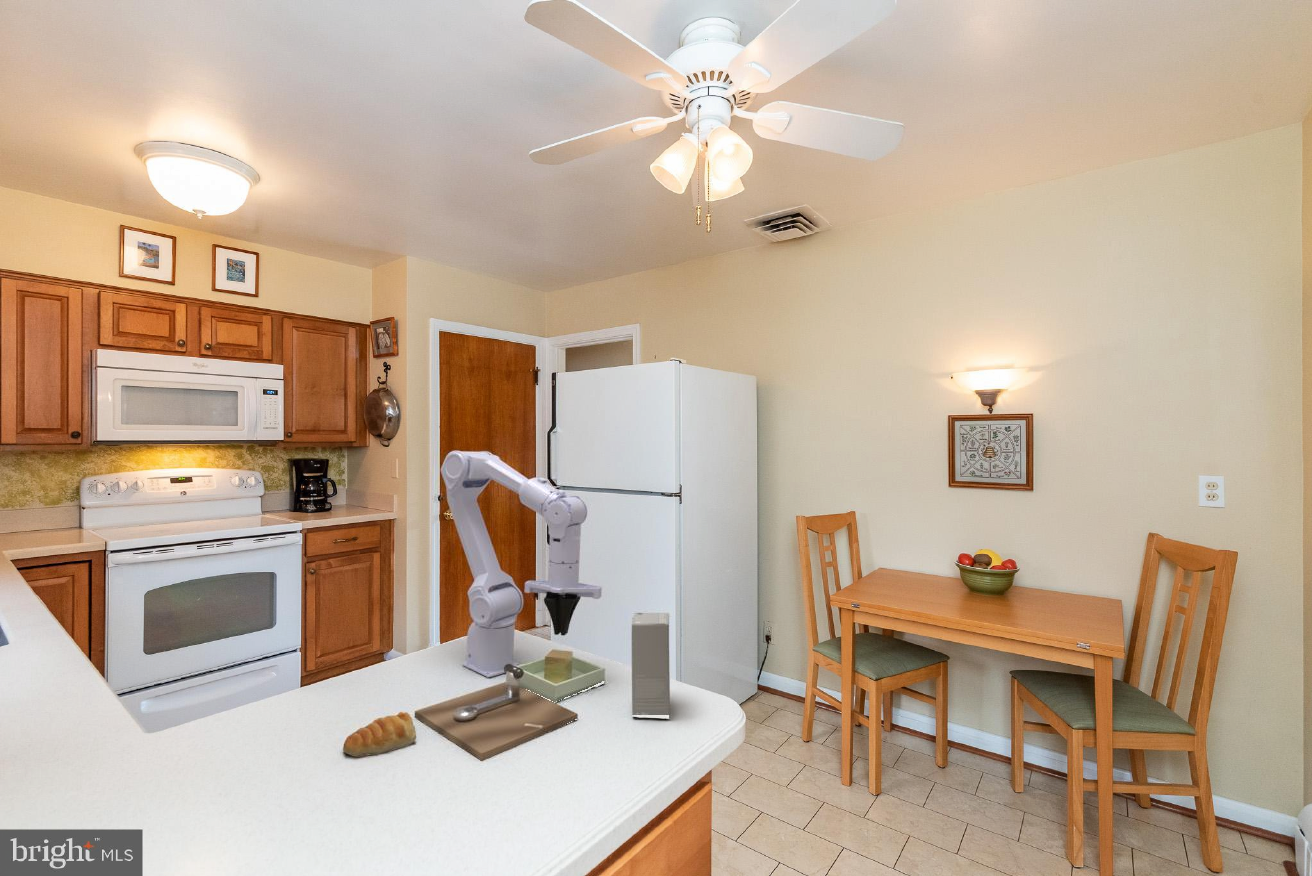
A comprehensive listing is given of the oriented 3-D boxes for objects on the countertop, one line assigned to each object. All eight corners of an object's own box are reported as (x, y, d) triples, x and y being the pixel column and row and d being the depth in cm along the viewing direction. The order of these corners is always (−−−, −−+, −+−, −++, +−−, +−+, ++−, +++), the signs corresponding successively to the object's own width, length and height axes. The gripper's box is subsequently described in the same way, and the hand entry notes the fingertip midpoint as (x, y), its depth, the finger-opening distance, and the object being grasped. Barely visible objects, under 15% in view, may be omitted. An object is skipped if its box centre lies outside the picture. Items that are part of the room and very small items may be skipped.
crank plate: (414, 717, 97) (414, 710, 97) (508, 686, 110) (508, 680, 110) (481, 760, 84) (481, 752, 84) (577, 720, 98) (577, 713, 98)
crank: (463, 724, 92) (464, 687, 92) (447, 714, 95) (448, 679, 95) (526, 701, 101) (527, 668, 101) (510, 693, 104) (511, 661, 104)
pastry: (352, 767, 82) (353, 738, 82) (335, 748, 87) (336, 722, 87) (419, 744, 89) (420, 718, 89) (400, 728, 93) (401, 703, 93)
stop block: (543, 683, 110) (545, 656, 110) (551, 675, 114) (552, 649, 114) (564, 686, 109) (565, 658, 109) (571, 678, 113) (572, 651, 113)
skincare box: (669, 721, 99) (673, 625, 99) (626, 719, 99) (630, 623, 99) (669, 700, 107) (673, 611, 107) (629, 698, 107) (633, 609, 108)
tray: (513, 683, 112) (513, 667, 112) (562, 667, 121) (563, 652, 121) (554, 703, 104) (555, 685, 104) (604, 684, 113) (605, 668, 113)
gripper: (519, 562, 110) (516, 636, 110) (595, 567, 107) (592, 644, 107) (534, 555, 117) (531, 625, 117) (605, 560, 114) (602, 632, 114)
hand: (561, 633), depth 113 cm, fingers closed
